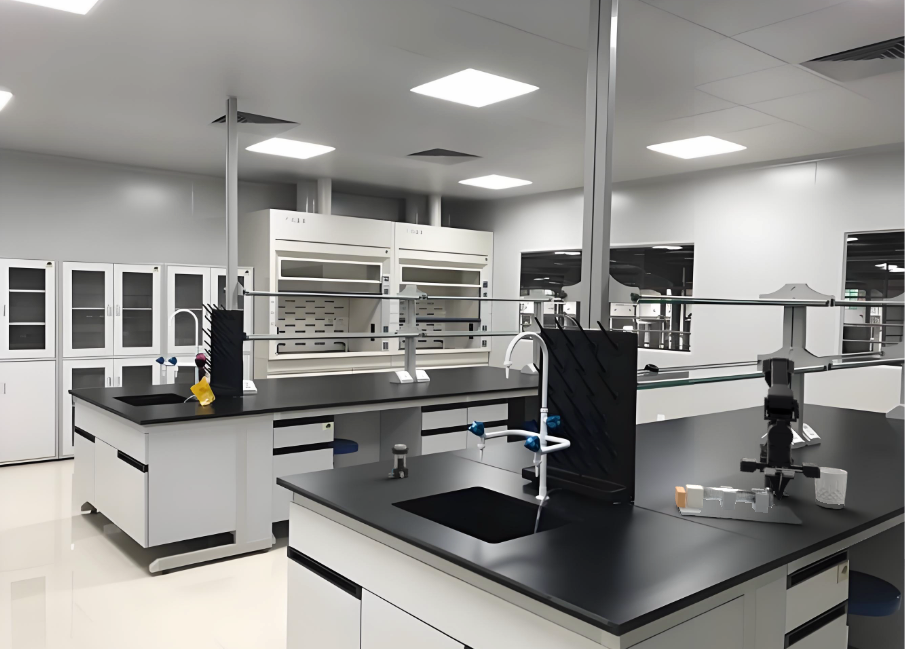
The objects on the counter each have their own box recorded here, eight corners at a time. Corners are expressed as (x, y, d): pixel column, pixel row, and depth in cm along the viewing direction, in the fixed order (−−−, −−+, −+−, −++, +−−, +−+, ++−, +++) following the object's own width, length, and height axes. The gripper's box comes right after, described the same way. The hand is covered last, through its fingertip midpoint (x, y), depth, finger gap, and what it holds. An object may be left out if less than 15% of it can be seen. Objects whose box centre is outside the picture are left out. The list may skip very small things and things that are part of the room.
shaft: (700, 499, 182) (701, 481, 182) (768, 504, 178) (769, 485, 178) (703, 504, 177) (703, 485, 177) (773, 509, 173) (773, 490, 173)
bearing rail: (673, 500, 188) (674, 479, 188) (787, 509, 181) (788, 487, 181) (678, 515, 174) (679, 492, 174) (802, 525, 168) (802, 501, 168)
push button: (392, 480, 204) (393, 448, 204) (384, 476, 209) (384, 445, 209) (411, 477, 208) (411, 445, 208) (402, 474, 213) (403, 442, 212)
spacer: (685, 502, 183) (686, 484, 183) (701, 503, 182) (701, 485, 182) (687, 506, 179) (687, 488, 179) (703, 507, 178) (703, 489, 178)
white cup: (846, 505, 187) (847, 469, 187) (846, 512, 180) (847, 475, 180) (814, 500, 191) (815, 465, 191) (813, 507, 184) (814, 471, 184)
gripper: (816, 438, 179) (816, 497, 179) (741, 433, 186) (740, 489, 187) (820, 446, 169) (820, 507, 169) (740, 440, 176) (739, 499, 176)
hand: (778, 500), depth 175 cm, fingers closed
